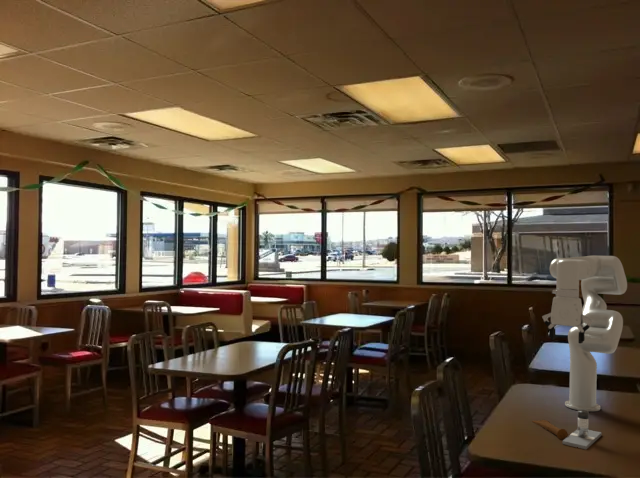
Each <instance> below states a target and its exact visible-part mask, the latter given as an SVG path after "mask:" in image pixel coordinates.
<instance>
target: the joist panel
mask: <svg viewBox="0 0 640 478" xmlns="http://www.w3.org/2000/svg"><path fill="white" fill-rule="evenodd" d="M577 430H578V428H577V429H575V430H574V431H573V432H571V433H570V435H569V434H568V436H567V438H566V439H562V445H564V446H565V445H566V446H570V447H575V448H577V447H578V449H581V450H587V449H589V448H590V447H591V446H592V445H593V444H594V443H595V442H596V441H597V440H598V439H599V438H601V436H602V432H601V431H597V430H596V431H595V430H591V429H588V438H582V437H578V436H577Z"/></svg>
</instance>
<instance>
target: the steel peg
mask: <svg viewBox="0 0 640 478" xmlns="http://www.w3.org/2000/svg"><path fill="white" fill-rule="evenodd" d="M589 412H590V411H585V410H577V429H578V430H577V429H576V430H577V436H578V437H582V438H588V430H589V420H590V419H589V416H590V415H589V414H590V413H589Z"/></svg>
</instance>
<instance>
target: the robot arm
mask: <svg viewBox="0 0 640 478" xmlns="http://www.w3.org/2000/svg"><path fill="white" fill-rule="evenodd" d="M549 273H550V276H551V277H553V278H554V279H556V288H555V289H553V290H551V294H555V296H554V297H553V298H552V305H551V311H550V312H549V313H547V314H544V315H542V316H541V317H542V319H543V322H544V324H545V326H547V328H548V329H549V338H550V341H554V340H556V328H555V327H556V326H565V327H566V326H567V327H570V329H569V330H568V333H567V341H568V346H569V392H568V393H569V395H568V396H569V397H568V398H569V399H568V400H566V401H564V405H565V406H566V407H567V408H568V409H572V410H576V411H578V410H585V411H588V412H599V411H600V410H601V405H600V404H598V403H597V379H598V376H597V375H598V373H597V371H598V370H597V368H598V367H597V366H598V365H597V360H596V358H595V357H594V356H593V354H592V353H597V354H599V353H600V354H606V355H607V354H609V355H610V354H614V353H615V351H616V350H617V348H618V345H619V342H620V338H621V335H622V332H623V327H624V326H623V325H624V318H623V315H622V314H621V313H620V312H619V311H616V310H613V309H612V310H611V309H607V308H608V306H607V303H606V301H605V300H604V299H603V298H602V297H601V296H600V295H599V294H603V295H615V296H617V295H619V296H620V295H623V294H625V293H626V291H627V289H628V280H627V277H626V274H625V270H624V266H623V264H622V262H621V260H620V258H618V257H617V256H615V255H587V256H585V255H584V256H573V257H557V258H554V259H553V260H551V262H550V265H549ZM580 281H581V282H580ZM580 287H581V288H580ZM580 289H581V296H582V299H583V304H582V299H581V297H580ZM549 318H550V321H549Z"/></svg>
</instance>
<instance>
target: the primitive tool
mask: <svg viewBox="0 0 640 478" xmlns="http://www.w3.org/2000/svg"><path fill="white" fill-rule="evenodd" d="M531 422H532V423H534V424H536V425H537V426H538V427H541V428H543V429H545V430H546V431H548V432H549V433H551V434H553V435H555V436H557V438H558V439H559V440H564V439H566V438H567V437H568V436H569V434H568V432H567V430H566V429H564V428H559V427H557V426H555V424H552V423H551V422H550V421H548V420H546V419H540V420H531Z"/></svg>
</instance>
